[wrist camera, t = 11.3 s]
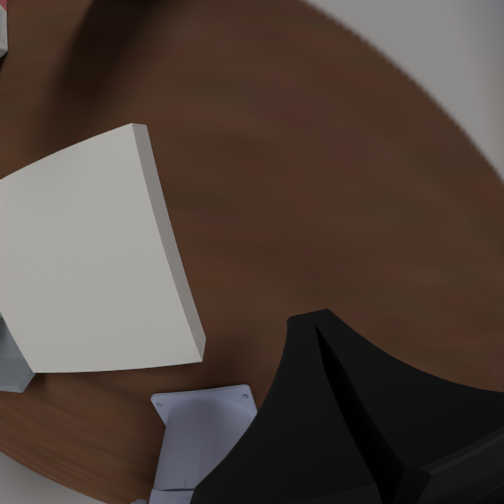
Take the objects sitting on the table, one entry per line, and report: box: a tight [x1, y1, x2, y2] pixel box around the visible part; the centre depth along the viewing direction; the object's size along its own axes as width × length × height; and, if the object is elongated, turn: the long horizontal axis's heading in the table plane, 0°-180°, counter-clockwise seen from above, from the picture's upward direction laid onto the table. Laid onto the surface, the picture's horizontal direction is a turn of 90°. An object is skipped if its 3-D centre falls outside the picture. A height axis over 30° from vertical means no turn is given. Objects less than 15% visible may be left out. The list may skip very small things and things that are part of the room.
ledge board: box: [0, 123, 206, 373], centre depth 18 cm, size 14×14×2 cm
